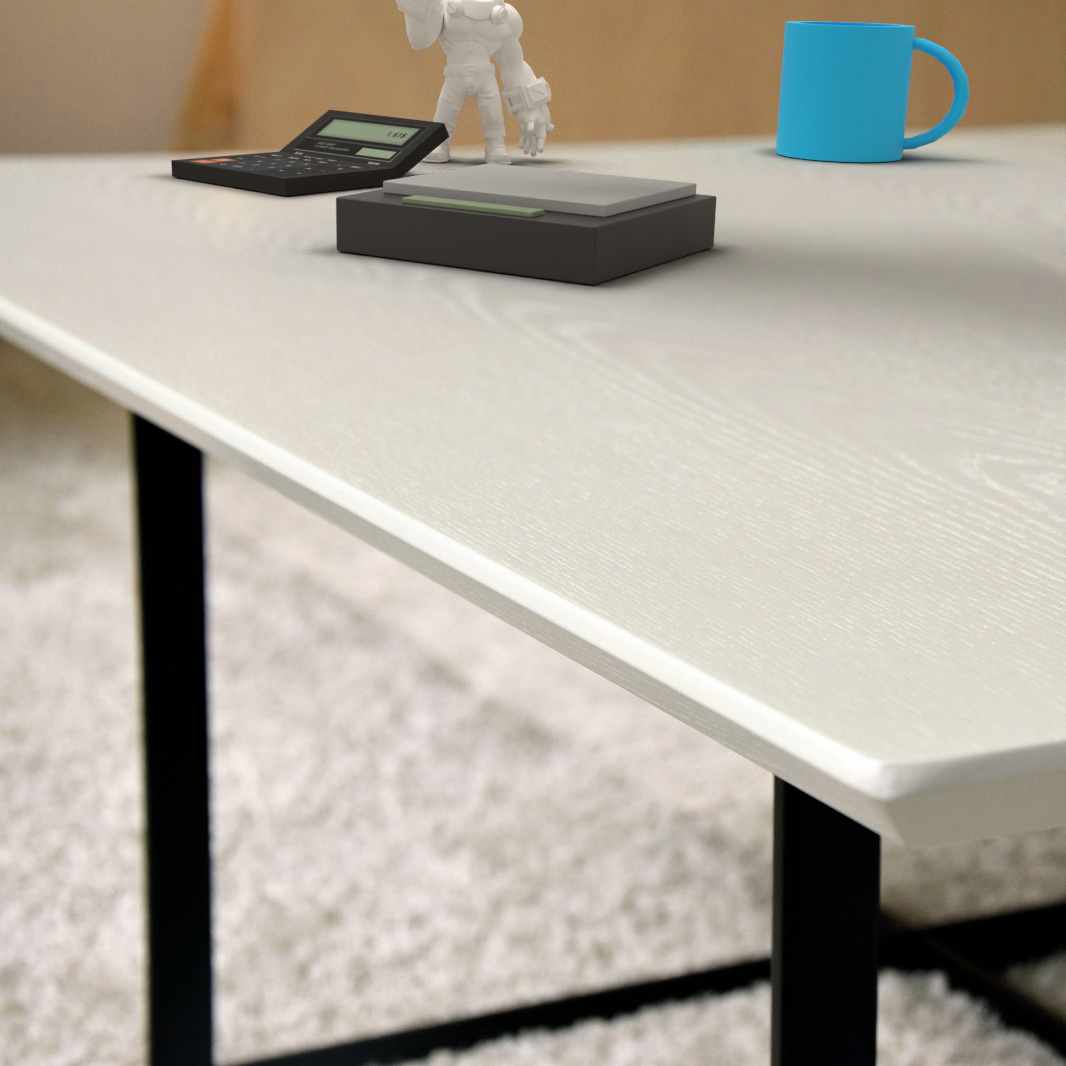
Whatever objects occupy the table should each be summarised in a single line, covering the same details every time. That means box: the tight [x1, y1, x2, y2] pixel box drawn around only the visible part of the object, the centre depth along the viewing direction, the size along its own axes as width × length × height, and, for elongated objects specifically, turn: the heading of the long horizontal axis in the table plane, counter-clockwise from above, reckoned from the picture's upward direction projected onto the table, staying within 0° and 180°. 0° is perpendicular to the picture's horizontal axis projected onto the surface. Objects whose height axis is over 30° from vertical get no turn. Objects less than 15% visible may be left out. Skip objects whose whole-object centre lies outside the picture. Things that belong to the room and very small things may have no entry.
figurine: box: [395, 0, 556, 165], centre depth 96 cm, size 10×5×12 cm, turn 127°
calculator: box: [170, 109, 449, 197], centre depth 88 cm, size 9×12×3 cm
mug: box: [775, 20, 970, 163], centre depth 105 cm, size 12×8×8 cm
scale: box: [335, 163, 717, 286], centre depth 68 cm, size 12×11×3 cm
